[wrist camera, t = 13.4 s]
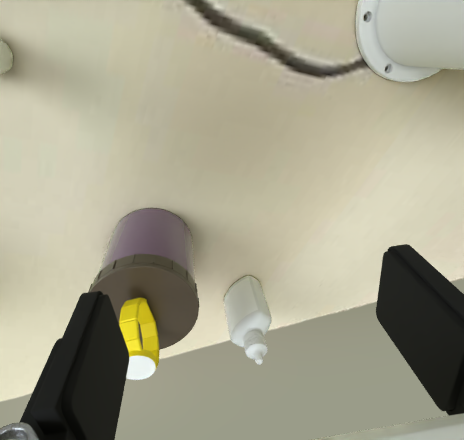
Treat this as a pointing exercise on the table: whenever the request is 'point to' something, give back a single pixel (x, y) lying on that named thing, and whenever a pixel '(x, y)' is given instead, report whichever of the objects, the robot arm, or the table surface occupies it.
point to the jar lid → (153, 292)
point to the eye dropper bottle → (248, 316)
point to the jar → (152, 238)
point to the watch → (139, 359)
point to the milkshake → (5, 57)
